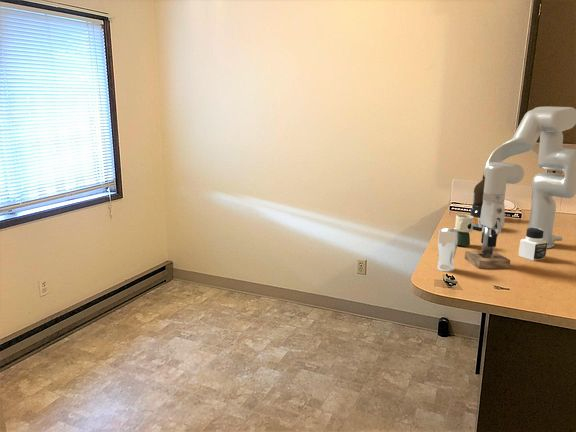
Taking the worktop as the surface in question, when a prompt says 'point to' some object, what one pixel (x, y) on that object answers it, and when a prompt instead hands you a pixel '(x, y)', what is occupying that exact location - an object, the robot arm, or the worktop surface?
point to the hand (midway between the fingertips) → (488, 244)
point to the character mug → (464, 229)
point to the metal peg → (485, 239)
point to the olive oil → (479, 191)
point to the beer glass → (447, 248)
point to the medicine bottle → (533, 245)
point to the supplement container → (476, 216)
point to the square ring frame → (487, 259)
